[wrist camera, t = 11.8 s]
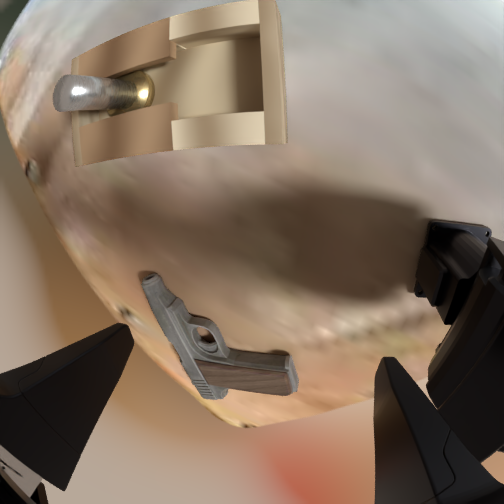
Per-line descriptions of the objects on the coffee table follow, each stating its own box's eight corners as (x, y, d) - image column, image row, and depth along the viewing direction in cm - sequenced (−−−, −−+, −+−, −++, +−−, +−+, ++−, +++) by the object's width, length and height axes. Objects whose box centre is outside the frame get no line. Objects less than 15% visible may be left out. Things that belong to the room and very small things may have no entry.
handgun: (253, 265, 19) (131, 286, 23) (298, 402, 24) (197, 400, 28) (262, 248, 22) (148, 271, 26) (301, 381, 27) (206, 382, 31)
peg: (154, 64, 16) (87, 48, 10) (156, 115, 18) (86, 117, 11) (112, 78, 17) (45, 74, 11) (114, 125, 19) (45, 134, 12)
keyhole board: (280, 15, 13) (274, -3, 11) (287, 142, 17) (282, 144, 15) (94, 62, 17) (71, 59, 14) (98, 161, 21) (75, 167, 19)
